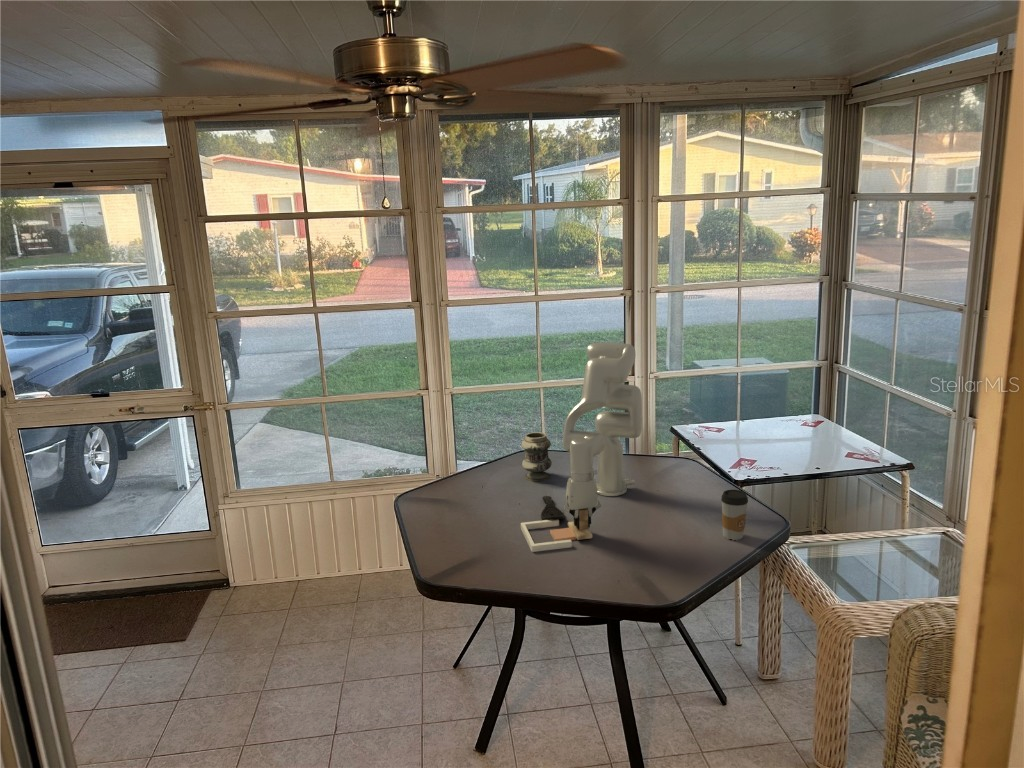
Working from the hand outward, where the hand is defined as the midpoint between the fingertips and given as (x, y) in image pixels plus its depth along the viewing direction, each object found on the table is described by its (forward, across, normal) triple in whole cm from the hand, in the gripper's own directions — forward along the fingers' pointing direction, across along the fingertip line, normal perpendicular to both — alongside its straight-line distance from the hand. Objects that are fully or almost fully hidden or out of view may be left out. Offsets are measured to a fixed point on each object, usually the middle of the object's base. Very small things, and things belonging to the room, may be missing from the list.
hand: (582, 526), depth 237 cm
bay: (+2, +12, 0) cm, 12 cm away
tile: (+3, +7, 0) cm, 8 cm away
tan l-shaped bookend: (+2, 0, 0) cm, 2 cm away
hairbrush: (+3, +6, -20) cm, 21 cm away
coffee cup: (+3, -47, +15) cm, 49 cm away
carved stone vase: (+3, +3, -55) cm, 55 cm away
